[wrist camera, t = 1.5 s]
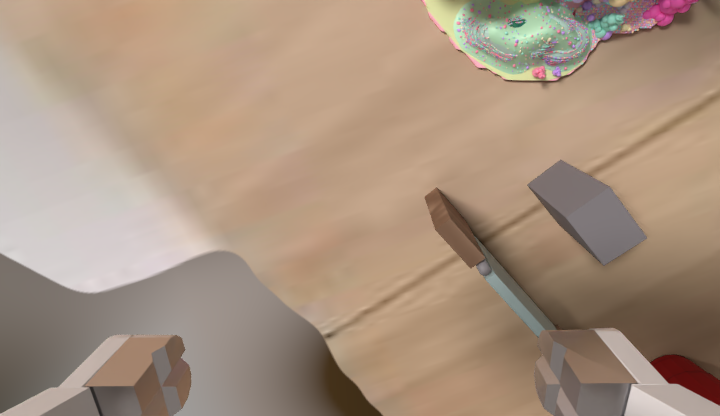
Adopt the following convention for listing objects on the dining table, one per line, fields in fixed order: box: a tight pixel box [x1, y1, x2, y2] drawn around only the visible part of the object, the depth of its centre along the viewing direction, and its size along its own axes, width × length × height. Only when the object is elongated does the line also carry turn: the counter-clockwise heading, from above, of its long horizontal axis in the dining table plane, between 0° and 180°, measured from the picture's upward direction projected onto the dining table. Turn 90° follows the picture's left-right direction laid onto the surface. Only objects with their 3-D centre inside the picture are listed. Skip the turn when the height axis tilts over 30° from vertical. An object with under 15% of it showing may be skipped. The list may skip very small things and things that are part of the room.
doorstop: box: [527, 160, 647, 265], centre depth 36 cm, size 4×6×9 cm, turn 42°
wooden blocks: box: [425, 188, 562, 330], centre depth 41 cm, size 2×29×9 cm, turn 42°
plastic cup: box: [650, 355, 720, 406], centre depth 43 cm, size 11×11×12 cm
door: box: [473, 235, 557, 338], centre depth 40 cm, size 1×17×8 cm, turn 43°
